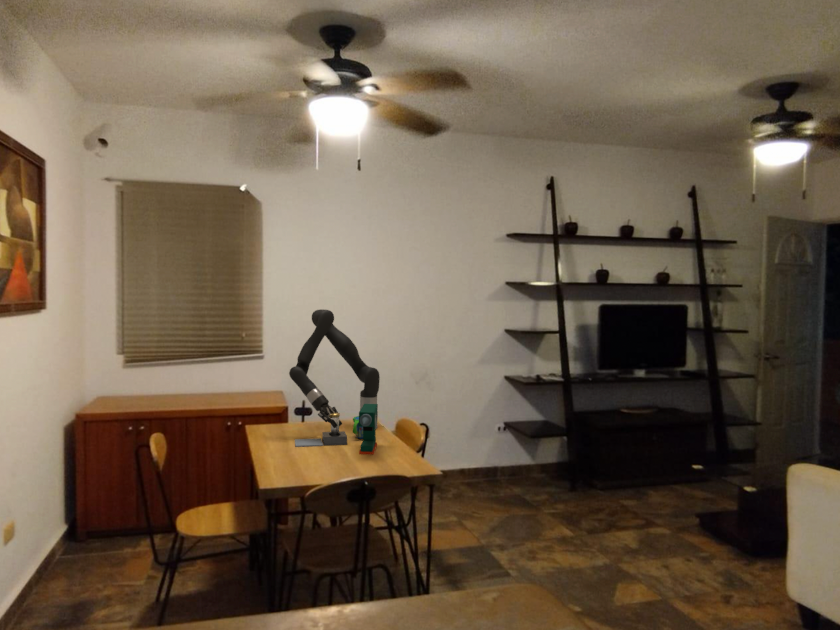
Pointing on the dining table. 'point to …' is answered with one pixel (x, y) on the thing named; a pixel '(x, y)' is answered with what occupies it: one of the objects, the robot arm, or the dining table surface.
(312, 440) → the mat
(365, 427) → the power tool
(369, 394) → the robot arm
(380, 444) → the dining table surface
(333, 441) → the socket block
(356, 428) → the snack cup
